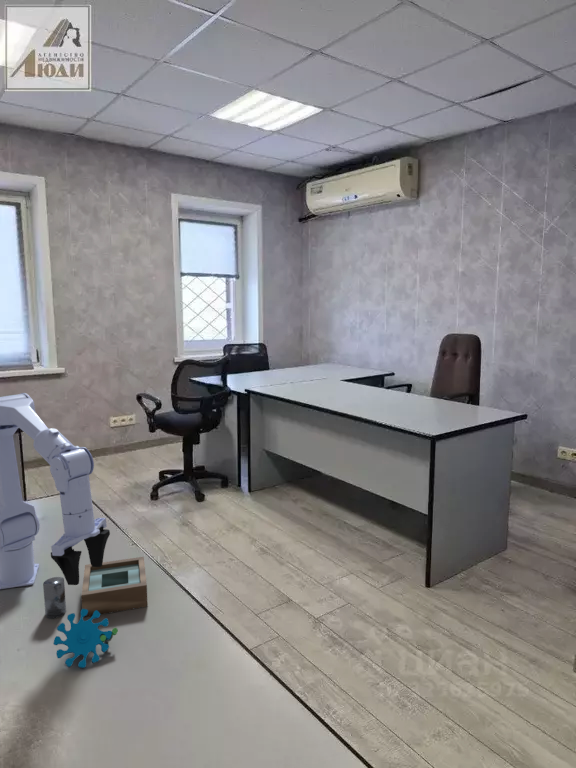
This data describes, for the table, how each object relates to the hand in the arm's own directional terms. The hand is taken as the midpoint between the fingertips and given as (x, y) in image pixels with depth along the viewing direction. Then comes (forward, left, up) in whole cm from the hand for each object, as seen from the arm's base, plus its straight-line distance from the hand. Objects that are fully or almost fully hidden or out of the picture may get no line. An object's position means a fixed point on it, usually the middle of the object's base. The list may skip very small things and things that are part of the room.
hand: (85, 574), depth 104 cm
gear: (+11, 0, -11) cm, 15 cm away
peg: (-5, -7, -10) cm, 13 cm away
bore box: (-8, +5, -10) cm, 14 cm away
